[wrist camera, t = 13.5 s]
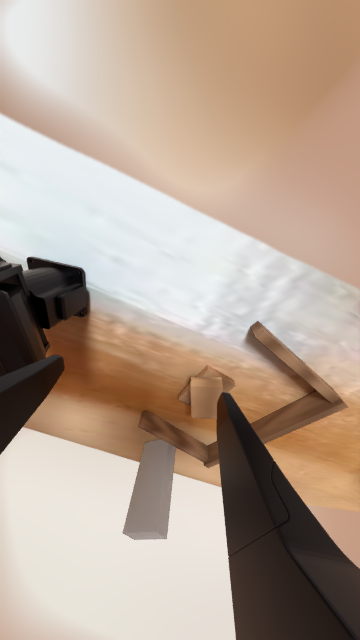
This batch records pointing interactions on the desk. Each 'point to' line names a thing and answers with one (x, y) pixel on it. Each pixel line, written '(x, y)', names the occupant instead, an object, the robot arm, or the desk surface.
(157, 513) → the tall board
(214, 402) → the offcut upper
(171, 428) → the wooden frame
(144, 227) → the desk surface
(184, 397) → the offcut lower
